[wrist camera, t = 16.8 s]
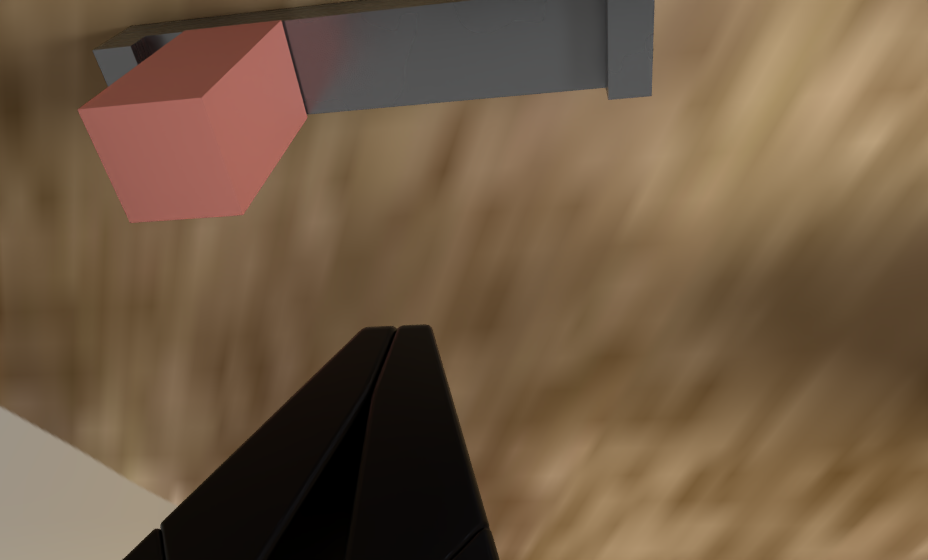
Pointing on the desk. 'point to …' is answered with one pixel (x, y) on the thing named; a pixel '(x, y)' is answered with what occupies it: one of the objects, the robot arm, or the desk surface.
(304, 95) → the rail
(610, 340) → the desk surface
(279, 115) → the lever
